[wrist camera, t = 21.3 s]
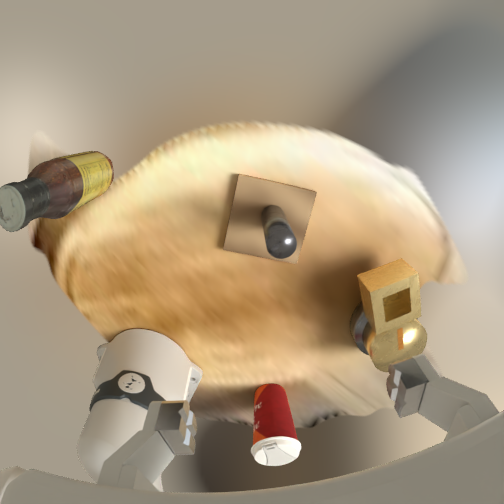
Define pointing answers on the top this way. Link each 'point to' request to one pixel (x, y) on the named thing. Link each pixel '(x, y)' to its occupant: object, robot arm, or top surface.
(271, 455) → the paper cup
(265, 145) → the top surface
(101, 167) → the sauce bottle
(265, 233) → the steel cylinder
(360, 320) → the chuck base
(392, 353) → the chuck collar
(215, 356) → the top surface
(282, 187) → the wooden mat
